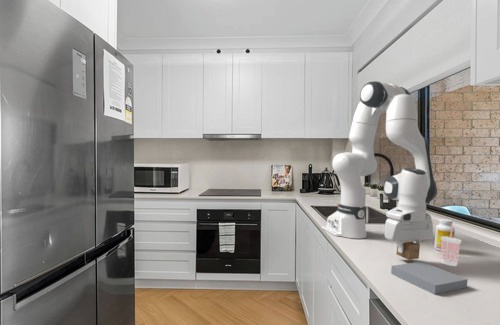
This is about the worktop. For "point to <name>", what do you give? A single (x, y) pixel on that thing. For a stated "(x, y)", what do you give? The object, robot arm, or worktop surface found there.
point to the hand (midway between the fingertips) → (407, 251)
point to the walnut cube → (410, 250)
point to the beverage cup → (450, 249)
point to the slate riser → (429, 277)
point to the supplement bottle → (442, 232)
